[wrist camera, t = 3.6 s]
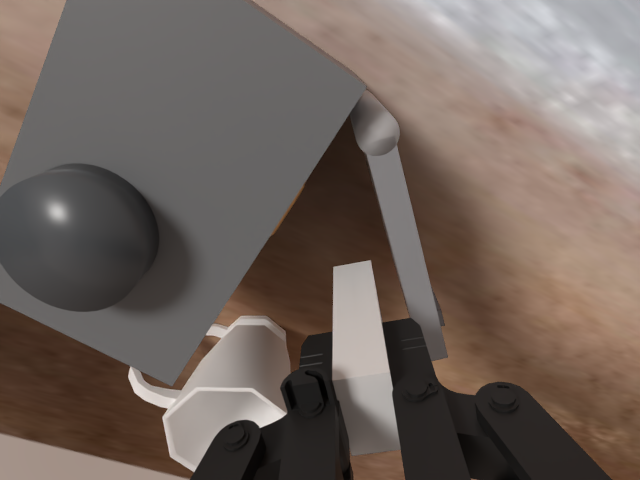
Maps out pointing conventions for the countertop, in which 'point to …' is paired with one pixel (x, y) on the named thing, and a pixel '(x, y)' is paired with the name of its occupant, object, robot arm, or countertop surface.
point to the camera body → (159, 168)
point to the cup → (223, 387)
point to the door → (398, 216)
